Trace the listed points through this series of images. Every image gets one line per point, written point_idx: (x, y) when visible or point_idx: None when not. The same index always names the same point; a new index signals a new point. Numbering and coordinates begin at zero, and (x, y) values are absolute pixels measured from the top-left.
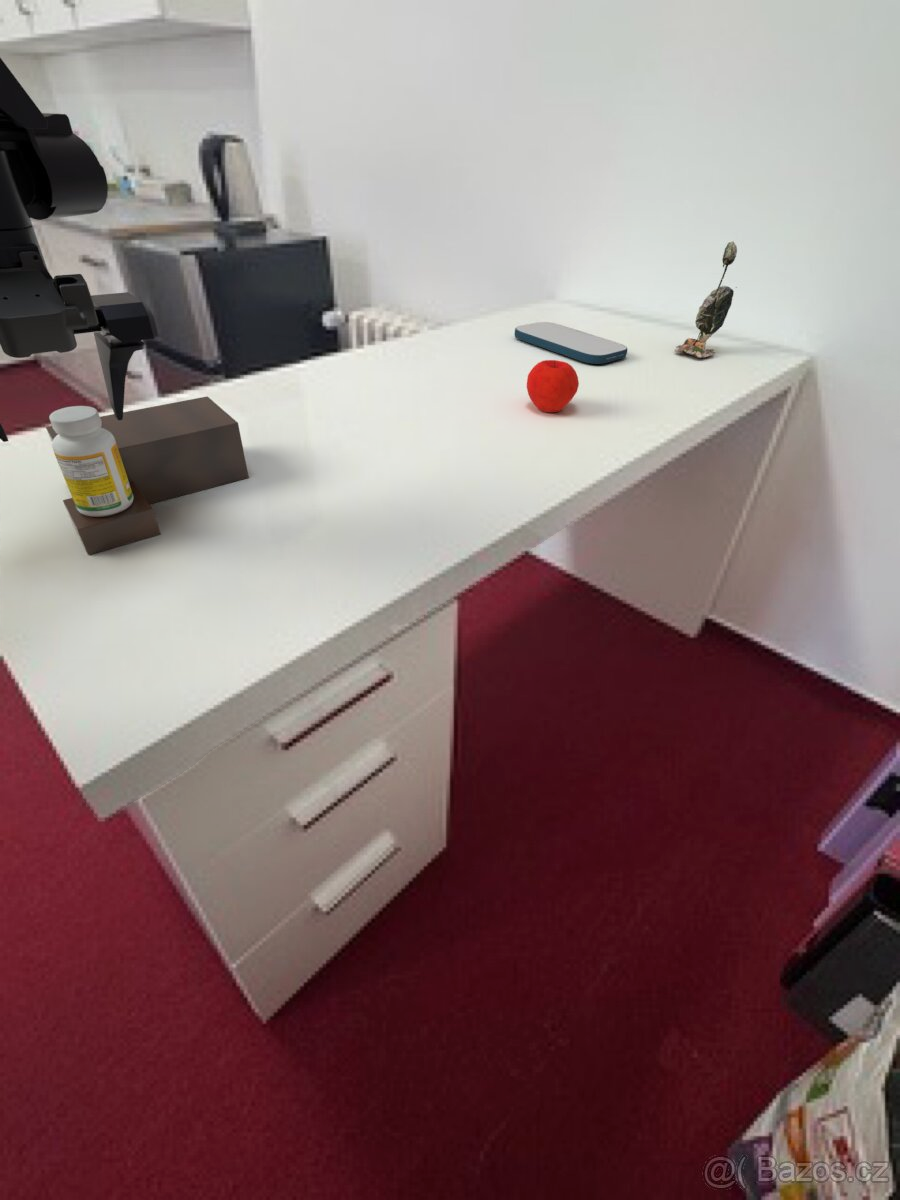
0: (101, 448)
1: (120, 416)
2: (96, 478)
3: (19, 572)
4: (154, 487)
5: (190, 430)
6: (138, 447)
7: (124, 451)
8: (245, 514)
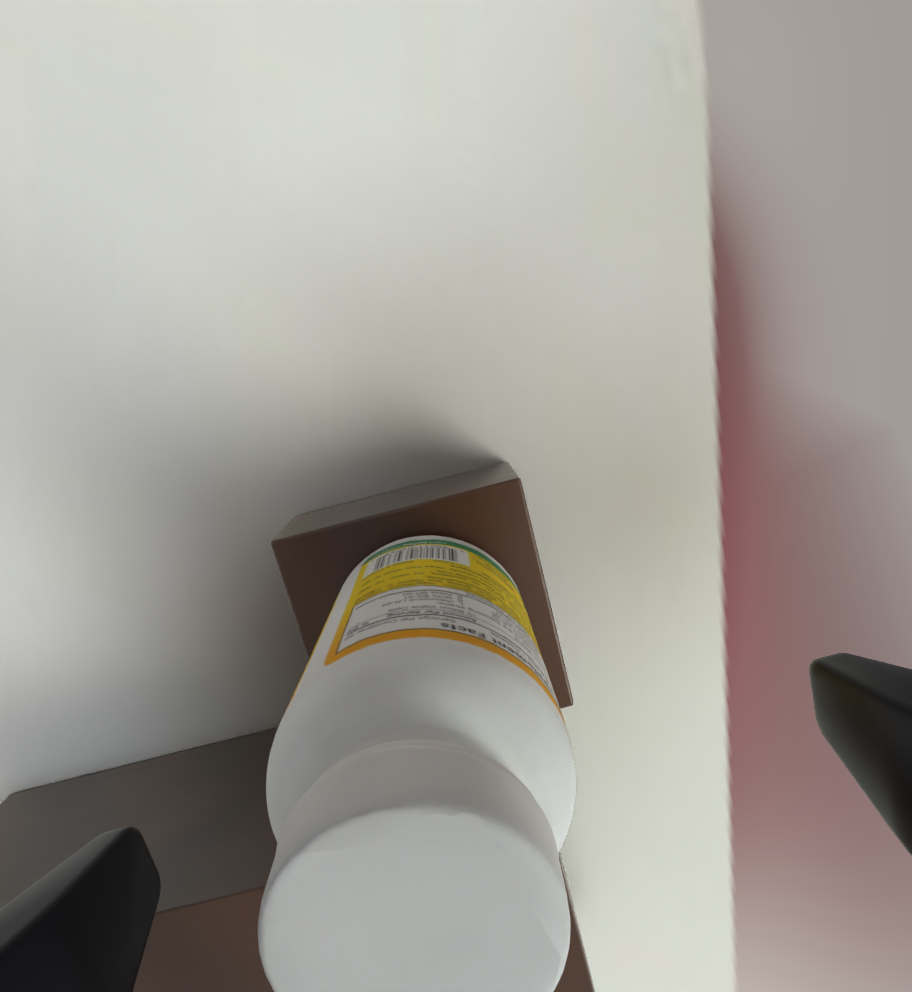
0: (321, 676)
1: (97, 843)
2: (404, 587)
3: (691, 433)
4: None
5: None
6: (257, 876)
7: None
8: (21, 555)
